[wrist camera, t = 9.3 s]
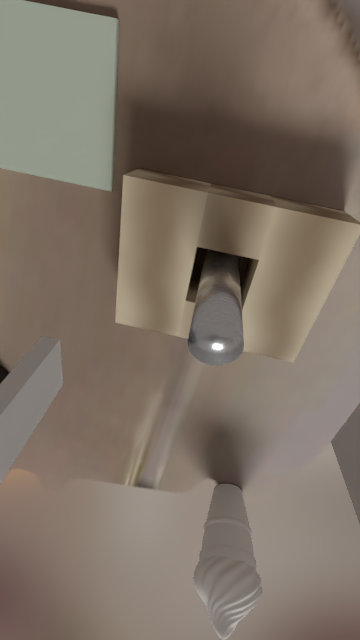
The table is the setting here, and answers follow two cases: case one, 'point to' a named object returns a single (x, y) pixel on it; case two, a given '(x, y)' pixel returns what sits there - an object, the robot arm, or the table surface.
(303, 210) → the block
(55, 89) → the mat
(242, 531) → the soft serve ice cream cone
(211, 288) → the peg
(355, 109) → the table surface
